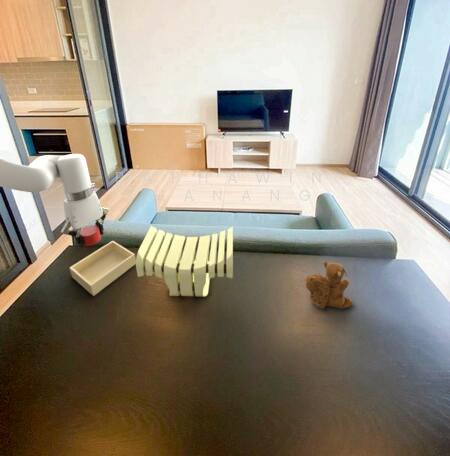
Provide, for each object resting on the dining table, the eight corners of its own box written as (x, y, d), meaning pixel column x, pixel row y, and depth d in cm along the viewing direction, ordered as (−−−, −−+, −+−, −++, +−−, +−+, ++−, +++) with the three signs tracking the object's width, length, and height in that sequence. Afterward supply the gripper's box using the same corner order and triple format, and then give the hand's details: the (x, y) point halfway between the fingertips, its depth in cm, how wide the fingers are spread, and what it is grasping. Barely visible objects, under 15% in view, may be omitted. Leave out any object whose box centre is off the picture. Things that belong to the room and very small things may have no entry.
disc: (78, 241, 84) (75, 232, 82) (95, 232, 88) (93, 223, 87) (87, 248, 80) (84, 238, 79) (104, 238, 85) (102, 228, 84)
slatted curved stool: (142, 300, 81) (134, 258, 74) (156, 263, 96) (151, 225, 89) (232, 302, 80) (232, 259, 73) (232, 264, 94) (232, 226, 88)
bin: (72, 277, 90) (69, 267, 88) (114, 249, 104) (112, 240, 102) (93, 296, 83) (90, 286, 81) (136, 263, 96) (134, 254, 94)
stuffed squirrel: (354, 305, 78) (362, 273, 74) (318, 320, 74) (324, 287, 69) (332, 280, 87) (337, 251, 82) (298, 293, 82) (302, 262, 78)
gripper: (98, 179, 86) (108, 222, 93) (43, 201, 73) (58, 249, 79) (111, 184, 82) (120, 229, 89) (55, 208, 69) (70, 258, 75)
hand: (91, 238), depth 84 cm, fingers closed on disc, 6 cm apart
